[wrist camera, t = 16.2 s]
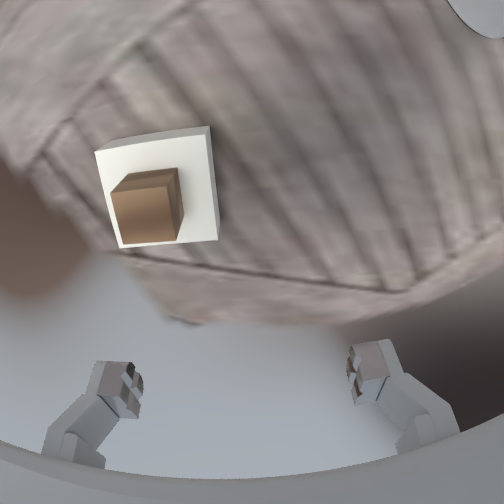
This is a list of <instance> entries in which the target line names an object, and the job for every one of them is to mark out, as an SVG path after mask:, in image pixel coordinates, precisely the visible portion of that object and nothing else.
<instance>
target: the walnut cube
mask: <svg viewBox="0 0 504 504" xmlns="http://www.w3.org/2000/svg"><path fill="white" fill-rule="evenodd" d="M110 196H111V200H112V204H113V208H114V212H115V216H116V220H117V224H118V228H119V231H120V235H121V239H122V242H123V245H126V244H139V243H153V242H167V241H176V240H177V237H178V233H179V230H180V227H181V224H182V221H183V218H184V209H183V203H182V196H181V189H180V182H179V175H178V168H168V169H159V170H151V171H143V172H135V173H128V174H127V175H126V176H125V177H124V178H123V179H122V180H121V182H120V183H119V184H118V185H117V186H116V187H115V188H114V189H113V190H112V191H111V193H110Z"/></svg>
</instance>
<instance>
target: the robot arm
mask: <svg viewBox="0 0 504 504" xmlns="http://www.w3.org/2000/svg"><path fill="white" fill-rule="evenodd" d="M448 2H449V3H450V5H451V6H452V8H453V9H454V10H455V12H456V13H457V14H458V16H459V17H460V18H461V19H462V20H463V21H464V22H465V23H466V24H467V25H468V26H469V27H470V28H472V29H473V30H474V31H476V32H477V33H479V34H481V35H483V36H485V37H488V38H494V39H497V38H502V37H504V0H448ZM349 354H350V356H349V357H348V358H347V362H346V372H347V377H348V381H349V382H350V383H351V384H352V385H353V386H352V389H351V393H352V396H353V400H354V404H355V406H356V405H362V404H367V403H373V402H376V404H377V405H378V406H379V407H380V408H381V409H382V410H383V411H384V412H385V413H386V414H387V415H388V416H389V417H390V418H391V419H392V420H393V421H394V422H395V423H396V424H397V425H398V426H399V427H400V428H402V430H403V431H404V433H403V434H402V436H401V437H400V438H399V440H398V441H397V442H396V443H395V445H396V449H397V453H398V455H394V456H391V457H387V458H383V459H379V460H375V461H371V462H366V463H362V464H357V465H353V466H348V467H343V468H337V469H332V470H326V471H320V472H313V473H306V474H297V475H289V476H279V477H267V478H250V479H188V478H171V477H157V476H149V475H140V474H132V473H125V472H118V471H112V470H106V469H105V462H106V459H105V457H104V456H103V455H101V454H100V453H99V452H97V451H96V450H97V448H98V447H99V446H100V444H101V443H102V442H103V441H104V439H105V438H106V436H107V435H108V434H109V433H110V431H111V430H112V429H113V427H114V426H115V425H116V424H117V422H118V421H119V418H128V419H138V417H139V412H140V407H141V404H140V403H139V401H138V400H139V398H140V397H141V396H142V395H143V389H144V388H143V380H142V377H141V375H140V374H139V373H138V372H136V371H135V366H134V364H133V363H132V362H111V361H97V362H96V363H95V364H94V367H93V370H92V374H91V377H90V380H89V383H88V387H87V390H86V393H85V394H82V395H81V396H80V397H79V398H78V399H77V400H76V401H75V402H74V403H73V404H72V405H71V406H70V407H69V408H68V409H67V410H66V411H65V412H64V413H63V414H62V415H61V416H60V417H59V418H58V419H57V420H56V421H54V422H53V423H52V424H51V426H49V427H48V430H47V434H46V437H45V441H44V445H43V449H42V452H41V454H39V453H36V452H33V451H29V450H26V449H23V448H20V447H17V446H14V445H12V444H9V443H6V442H3V441H1V440H0V504H504V414H502V415H500V416H498V417H496V418H494V419H491V420H489V421H487V422H485V423H483V424H481V425H478V426H476V427H474V428H472V429H469V430H467V431H464V432H462V433H460V431H459V427H458V425H457V423H456V420H455V417H454V414H453V412H452V409H451V406H450V404H448V403H447V402H446V401H444V400H443V399H441V398H440V397H439V396H438V395H436V394H435V393H433V392H432V391H431V390H430V389H428V388H427V387H426V386H424V385H423V384H421V383H420V382H419V381H418V380H416V379H415V378H413V377H412V376H411V375H409V374H408V373H403V370H402V367H401V365H400V362H399V360H398V357H397V355H396V352H395V350H394V347H393V345H392V343H391V341H390V340H389V339H385V340H381V341H373V342H367V343H362V344H356V345H351V346H350V348H349Z"/></svg>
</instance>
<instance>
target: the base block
mask: <svg viewBox="0 0 504 504" xmlns="http://www.w3.org/2000/svg"><path fill="white" fill-rule="evenodd" d="M95 155H96V160H97V164H98V169H99V173H100V178H101V182H102V186H103V190H104V194H105V198H106V202H107V206H108V210H109V213H110V217H111V221H112V224H113V228H114V231H115V235H116V238H117V241H118V245H119V248H127V247H139V246H150V245H162V244H174V243H186V242H199V241H211V240H218V235H219V225H220V215H219V207H218V198H217V190H216V181H215V172H214V163H213V154H212V145H211V135H210V126H201V127H193V128H185V129H177V130H170V131H163V132H156V133H150V134H144V135H138V136H132V137H127V138H121V139H116V140H111V141H110V142H108V143H107V144H105V145H104V146H102V147H101V148H99V149H98V150H96V151H95ZM168 168H178V175H179V182H180V189H181V196H182V203H183V209H184V218H183V221H182V224H181V227H180V230H179V233H178V237H177V240H176V241H167V242H153V243H139V244H126V245H123V242H122V239H121V235H120V231H119V228H118V224H117V220H116V216H115V212H114V208H113V204H112V200H111V196H110V193H111V191H112V190H113V189H114V188H115V187H116V186H117V185H118V184H119V183H120V182H121V180H122V179H123V178H124V177H125V176H126V175H127V174H128V173H135V172H143V171H151V170H159V169H168Z"/></svg>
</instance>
